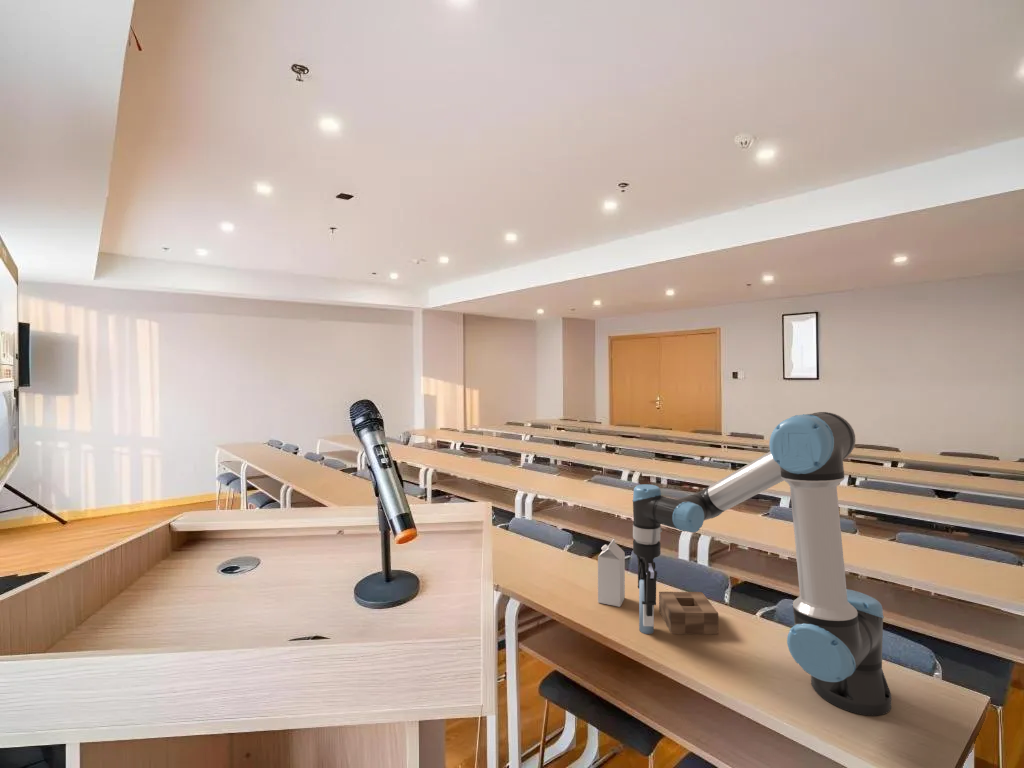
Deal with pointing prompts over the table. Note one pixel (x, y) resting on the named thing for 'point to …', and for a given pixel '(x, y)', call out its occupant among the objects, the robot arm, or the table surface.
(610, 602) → the milk carton
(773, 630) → the table surface
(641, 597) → the peg
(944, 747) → the table surface
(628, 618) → the table surface
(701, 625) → the socket block
